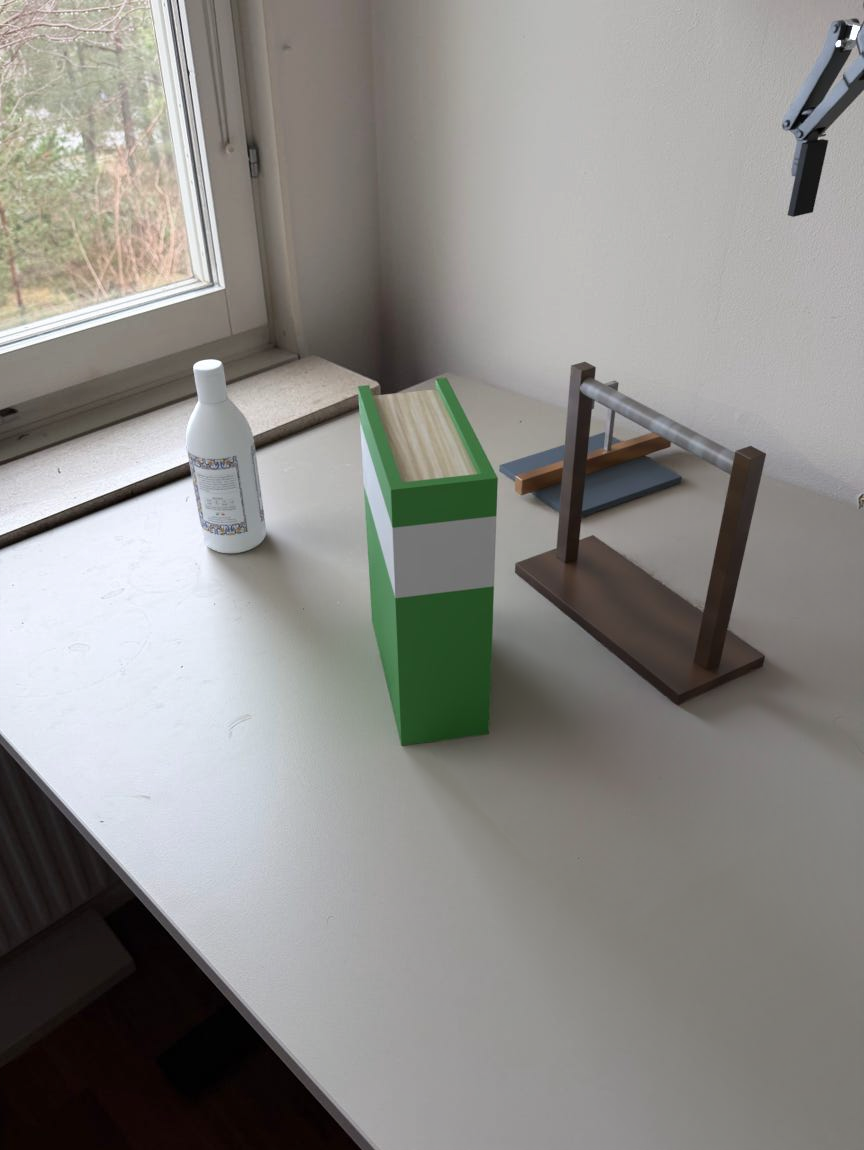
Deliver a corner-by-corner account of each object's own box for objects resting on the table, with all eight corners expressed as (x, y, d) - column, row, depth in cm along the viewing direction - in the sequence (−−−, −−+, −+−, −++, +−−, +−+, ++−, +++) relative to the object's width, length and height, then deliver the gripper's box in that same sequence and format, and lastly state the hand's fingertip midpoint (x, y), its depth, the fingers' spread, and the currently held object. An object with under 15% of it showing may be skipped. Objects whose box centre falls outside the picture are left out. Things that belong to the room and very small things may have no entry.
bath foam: (236, 515, 111) (209, 346, 99) (279, 534, 107) (257, 360, 95) (191, 542, 107) (157, 368, 95) (234, 562, 103) (206, 384, 91)
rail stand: (592, 544, 103) (613, 347, 90) (762, 666, 86) (819, 445, 73) (514, 572, 100) (524, 371, 86) (676, 705, 83) (720, 480, 69)
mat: (604, 437, 123) (604, 431, 122) (681, 482, 113) (682, 476, 112) (498, 470, 117) (499, 464, 116) (570, 521, 107) (571, 515, 107)
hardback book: (371, 620, 94) (357, 386, 79) (446, 611, 95) (446, 377, 80) (401, 745, 80) (390, 489, 66) (488, 733, 81) (497, 478, 66)
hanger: (662, 442, 119) (674, 361, 113) (670, 447, 118) (683, 365, 112) (514, 490, 111) (518, 406, 105) (521, 495, 110) (525, 410, 104)
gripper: (772, -46, 86) (730, 208, 99) (1042, -37, 69) (947, 269, 82) (832, -52, 89) (783, 196, 102) (1106, -45, 71) (1005, 253, 84)
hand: (856, 229), depth 92 cm, fingers open, 13 cm apart
